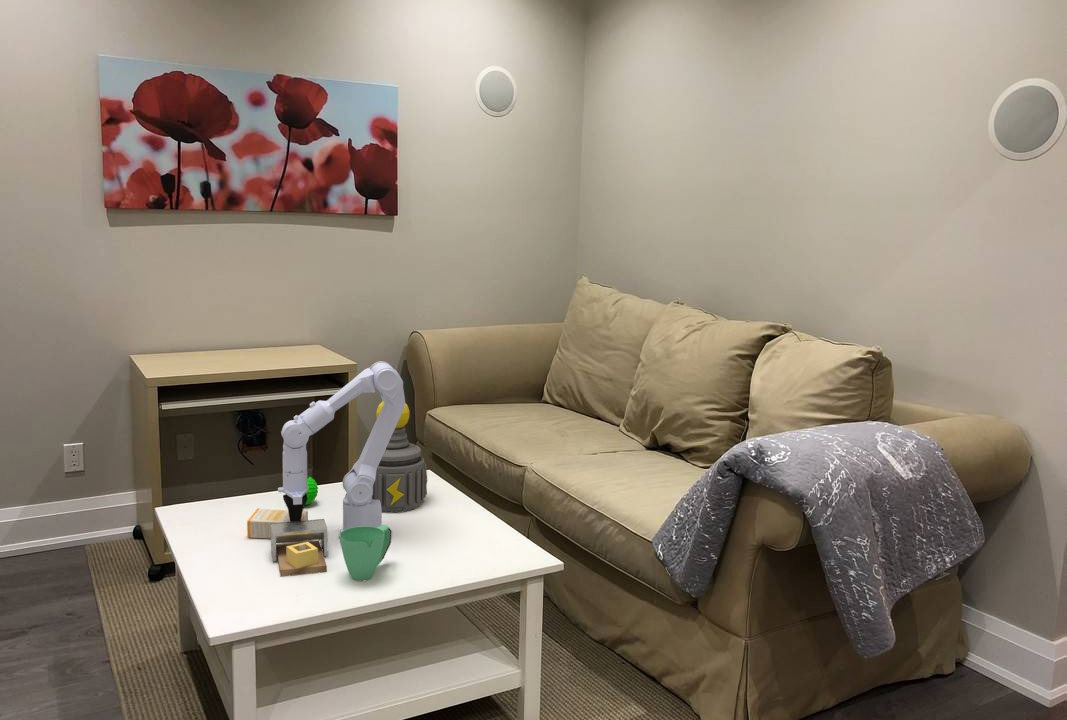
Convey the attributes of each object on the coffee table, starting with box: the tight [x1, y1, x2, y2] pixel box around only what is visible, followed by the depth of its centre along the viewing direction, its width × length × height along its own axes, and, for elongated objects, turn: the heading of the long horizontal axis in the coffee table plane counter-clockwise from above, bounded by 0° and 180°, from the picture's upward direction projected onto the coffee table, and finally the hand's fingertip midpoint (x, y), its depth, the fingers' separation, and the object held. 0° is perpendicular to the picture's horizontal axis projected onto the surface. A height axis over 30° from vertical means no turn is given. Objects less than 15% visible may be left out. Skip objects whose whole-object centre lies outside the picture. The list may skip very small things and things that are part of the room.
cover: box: [270, 518, 329, 562], centre depth 209 cm, size 12×7×7 cm, turn 109°
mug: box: [338, 524, 393, 582], centre depth 199 cm, size 15×10×10 cm
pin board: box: [276, 539, 327, 577], centre depth 205 cm, size 10×16×6 cm, turn 19°
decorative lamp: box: [372, 400, 428, 513], centre depth 246 cm, size 19×19×30 cm
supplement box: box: [246, 507, 309, 540], centre depth 221 cm, size 8×5×13 cm
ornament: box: [305, 474, 319, 506], centre depth 243 cm, size 8×8×10 cm
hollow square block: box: [286, 541, 318, 569], centre depth 200 cm, size 5×5×4 cm
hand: (295, 523), depth 217 cm, fingers closed, pressing on supplement box
